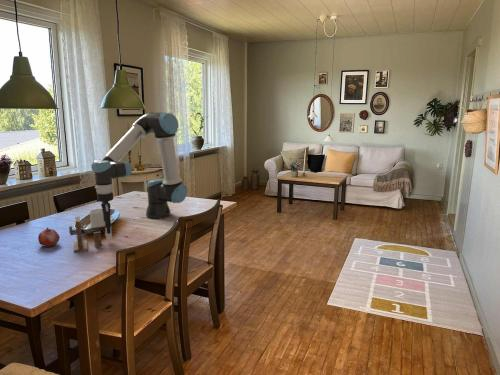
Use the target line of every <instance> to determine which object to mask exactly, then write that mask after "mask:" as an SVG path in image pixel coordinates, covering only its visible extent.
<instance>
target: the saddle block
mask: <svg viewBox="0 0 500 375" xmlns="http://www.w3.org/2000/svg"><path fill="white" fill-rule="evenodd" d="M101 233H102V232H93V240H94V247H95V248H97V247H102V236H101V235H102V234H101Z"/></svg>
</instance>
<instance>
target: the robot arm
mask: <svg viewBox="0 0 500 375" xmlns="http://www.w3.org/2000/svg"><path fill="white" fill-rule="evenodd" d="M178 130H179V120H178V118H177V117H176V116H175V115H174V114H173V113H170V112H160V111H159V112H155V111H154V112H153V111H152V112H147V113H145V114H143V115H141V116H140V117H138V118H137V120H135V121H134V122H133V124H131V128H130V129H129V130H128V131H127V132H126V133H125V134H124V136H122V137H121V138H120V140H119V141H117V142H116V143H115V145H114V146H112V148H110V150H109V151H107V153H105V155H103V157H102V158H101V159H95V160H93V162H92V164H91V170H92V172H93V173H94V179H95V180H94V181H95V186H94V189H96V190H95V191H96V200H97V202H101V203H100V206H101V209H102V211H103V219H104V221H105V224H104V228H105V231H106V234H105V233H104V236H105V240H112V239H113V235H112V234H113V231H111V225H112V221H111V219H112V218H111V203H110V202H111V201H114V189H113V179H119V178H126V177H128V176H131V174H132V173H133V167H132V164H131V163H130V162H128V161H122V159H123V158H124V157H125V156H126V155H127V154H128V153H129V152H130V151H131V149H133V148H134V146H136V144H138V142H139V141H140V140H141V139H142V138H146V136H147V135H149V134H153V133H154V138H155V139H156V140H157V141H158V147H159V153H160V159H161V167H162V173H163V178H156V179H151V180H148V182H147V184H146V186H147V187H146V190H147V191H146V192H147V202H148V203H147V208H146V211H145V217H147V218H149V219H158V220H159V219H164V218H168V217H171V213H172V212H171V210H170V209H171V208H170V206H169V204H168V203H169V202H170V203H173V204H181V203H183V201H185V199H186V198H187V194H188V188H187V185H185V184H184V183H183V180H182V178H180V176H179V175H180V174H179V169H178V161H177V155H176V147H175V141H174V138H175V137H176V133H177V132H178ZM120 161H121V162H120ZM105 231H104V232H105Z"/></svg>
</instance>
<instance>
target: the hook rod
mask: <svg viewBox="0 0 500 375" xmlns="http://www.w3.org/2000/svg"><path fill="white" fill-rule="evenodd" d="M104 224H105V221H104ZM68 229H69V234H70V236H77V231H76V229H73V226H72V225H68ZM113 230H114V229H113V224H111V232H113ZM101 231H103V232H104V235H105V234H106V231H105V228H104V226H102V227H94V228H91V227H89V228H81V234H82V235H84V234H85V235H86V234H94V232H100V233H102V232H101Z"/></svg>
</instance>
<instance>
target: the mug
mask: <svg viewBox="0 0 500 375" xmlns="http://www.w3.org/2000/svg"><path fill="white" fill-rule="evenodd" d="M89 218H90V228H94V227H102V226H104V219H103V211H102V208H96V209H92V210H90V211H89Z"/></svg>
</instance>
